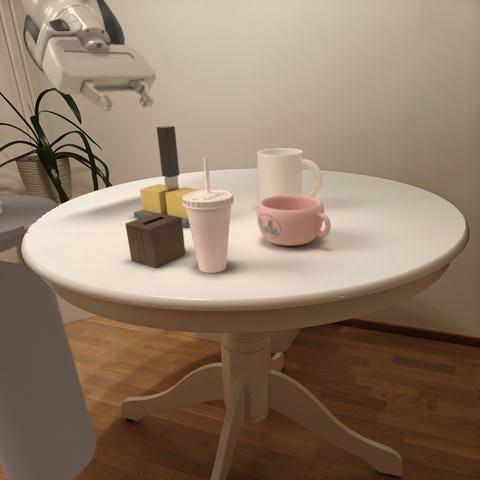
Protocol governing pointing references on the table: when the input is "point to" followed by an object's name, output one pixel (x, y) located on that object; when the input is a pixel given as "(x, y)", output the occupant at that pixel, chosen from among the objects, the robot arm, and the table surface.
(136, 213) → the butter dish
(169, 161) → the knife
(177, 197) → the butter
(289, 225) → the mug
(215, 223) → the smoothie
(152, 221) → the knife block
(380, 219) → the table surface
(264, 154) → the mug
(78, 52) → the robot arm
